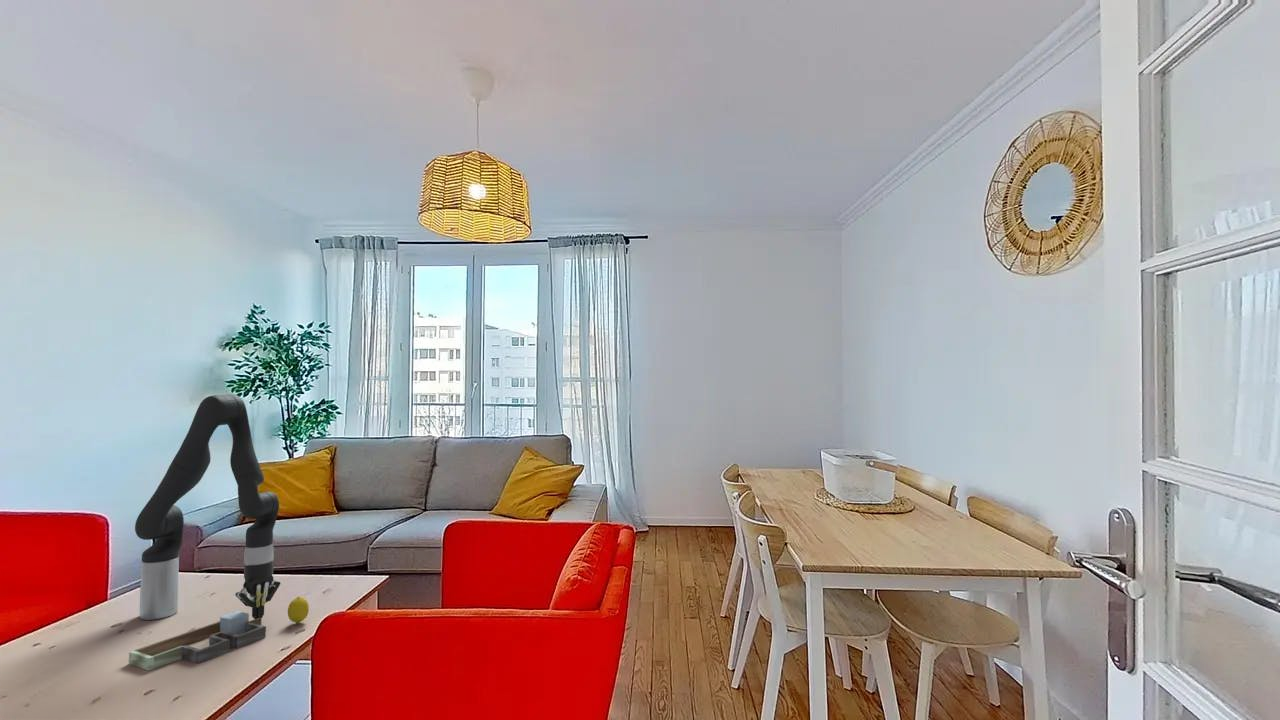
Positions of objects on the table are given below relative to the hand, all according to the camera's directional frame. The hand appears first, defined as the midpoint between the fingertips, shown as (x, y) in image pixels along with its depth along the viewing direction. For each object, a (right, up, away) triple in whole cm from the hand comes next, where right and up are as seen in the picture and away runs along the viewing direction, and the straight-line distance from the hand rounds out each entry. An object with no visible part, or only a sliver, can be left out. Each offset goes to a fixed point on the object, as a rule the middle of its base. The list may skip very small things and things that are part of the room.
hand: (257, 618), depth 186 cm
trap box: (-4, -1, -16) cm, 17 cm away
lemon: (+12, -2, 0) cm, 12 cm away
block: (-3, -2, -6) cm, 7 cm away
